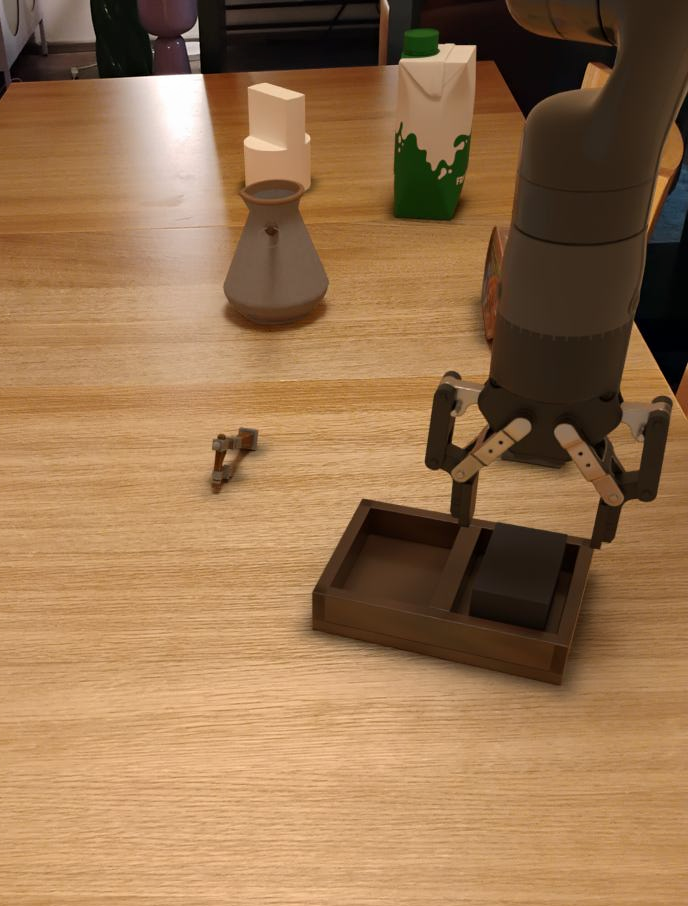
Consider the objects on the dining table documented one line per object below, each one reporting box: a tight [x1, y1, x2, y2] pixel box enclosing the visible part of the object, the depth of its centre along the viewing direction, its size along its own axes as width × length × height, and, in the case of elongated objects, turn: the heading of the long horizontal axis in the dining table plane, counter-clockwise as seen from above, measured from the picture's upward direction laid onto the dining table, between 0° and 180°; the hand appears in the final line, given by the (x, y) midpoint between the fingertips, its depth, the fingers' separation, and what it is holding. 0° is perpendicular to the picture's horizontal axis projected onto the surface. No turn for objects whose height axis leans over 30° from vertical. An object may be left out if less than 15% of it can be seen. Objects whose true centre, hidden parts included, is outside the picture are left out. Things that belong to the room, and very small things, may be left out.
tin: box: [481, 225, 510, 340], centre depth 105 cm, size 15×3×8 cm, turn 172°
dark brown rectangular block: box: [469, 521, 569, 632], centre depth 72 cm, size 5×8×4 cm, turn 157°
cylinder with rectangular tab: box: [243, 82, 312, 192], centre depth 138 cm, size 9×9×12 cm
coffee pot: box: [222, 179, 330, 326], centre depth 105 cm, size 21×12×15 cm, turn 176°
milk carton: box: [393, 28, 477, 221], centre depth 125 cm, size 9×9×20 cm
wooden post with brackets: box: [211, 426, 259, 489], centre depth 90 cm, size 2×8×4 cm, turn 157°
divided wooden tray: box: [311, 497, 595, 686], centre depth 74 cm, size 18×12×4 cm
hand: (529, 531), depth 69 cm, fingers open, 8 cm apart
